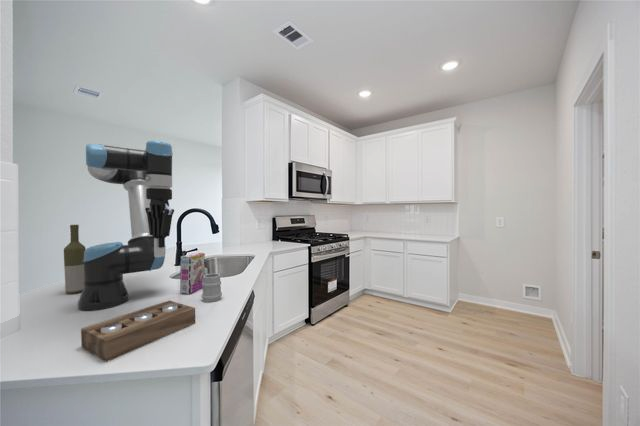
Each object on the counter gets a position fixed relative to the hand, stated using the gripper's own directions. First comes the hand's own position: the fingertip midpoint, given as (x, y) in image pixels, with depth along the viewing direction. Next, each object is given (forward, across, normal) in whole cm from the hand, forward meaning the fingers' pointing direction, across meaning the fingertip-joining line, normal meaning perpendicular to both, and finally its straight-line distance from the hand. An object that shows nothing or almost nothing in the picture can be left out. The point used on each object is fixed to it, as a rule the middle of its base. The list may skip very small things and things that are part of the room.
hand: (159, 256), depth 89 cm
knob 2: (+20, +9, -10) cm, 24 cm away
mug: (+21, 0, +20) cm, 29 cm away
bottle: (+23, -58, -4) cm, 62 cm away
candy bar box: (+22, -14, +23) cm, 35 cm away
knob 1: (+20, +9, -18) cm, 28 cm away
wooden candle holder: (+20, +9, -10) cm, 24 cm away
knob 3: (+20, +9, -2) cm, 22 cm away
